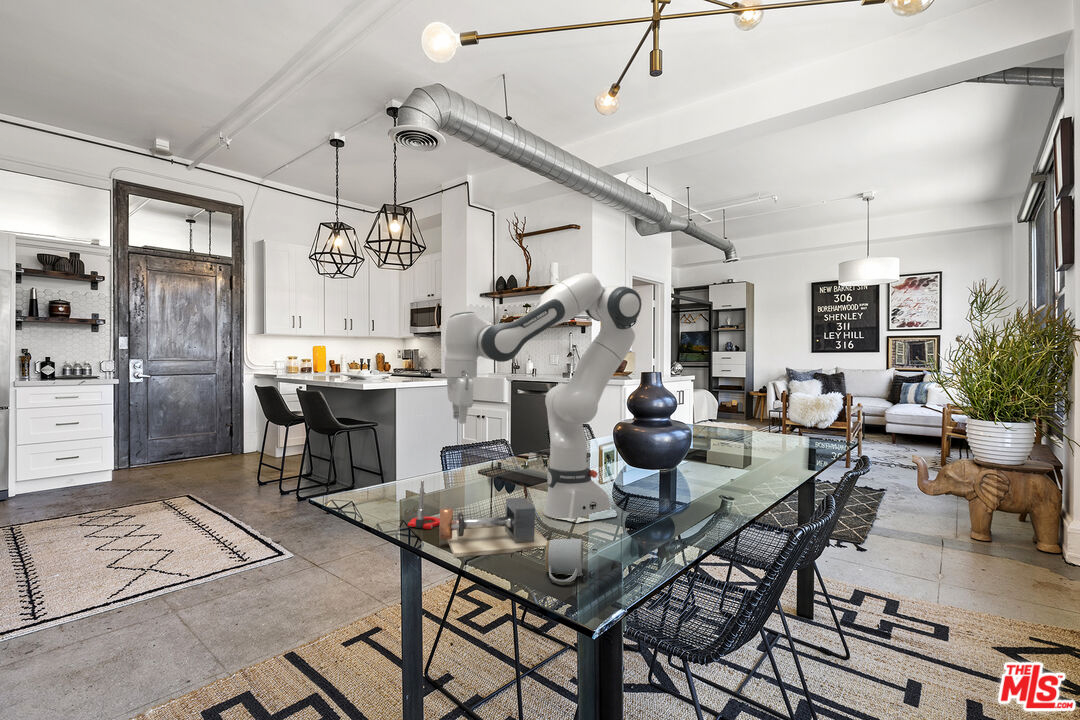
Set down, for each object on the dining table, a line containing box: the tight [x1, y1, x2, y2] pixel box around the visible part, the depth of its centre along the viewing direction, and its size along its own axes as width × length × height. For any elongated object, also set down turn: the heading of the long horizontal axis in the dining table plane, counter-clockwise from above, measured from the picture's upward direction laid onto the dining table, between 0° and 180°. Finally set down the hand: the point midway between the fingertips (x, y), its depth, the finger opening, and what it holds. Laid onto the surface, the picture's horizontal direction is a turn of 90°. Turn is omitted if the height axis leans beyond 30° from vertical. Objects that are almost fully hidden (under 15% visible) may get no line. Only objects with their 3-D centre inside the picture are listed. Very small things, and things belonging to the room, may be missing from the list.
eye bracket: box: [504, 497, 536, 543], centre depth 137 cm, size 5×10×8 cm, turn 18°
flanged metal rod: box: [438, 507, 514, 541], centre depth 134 cm, size 19×6×7 cm, turn 108°
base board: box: [446, 526, 549, 559], centre depth 135 cm, size 24×16×1 cm, turn 108°
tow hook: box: [407, 480, 440, 530], centre depth 148 cm, size 8×13×9 cm
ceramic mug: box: [544, 538, 584, 582], centre depth 115 cm, size 11×8×8 cm
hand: (459, 421), depth 146 cm, fingers open, 8 cm apart
